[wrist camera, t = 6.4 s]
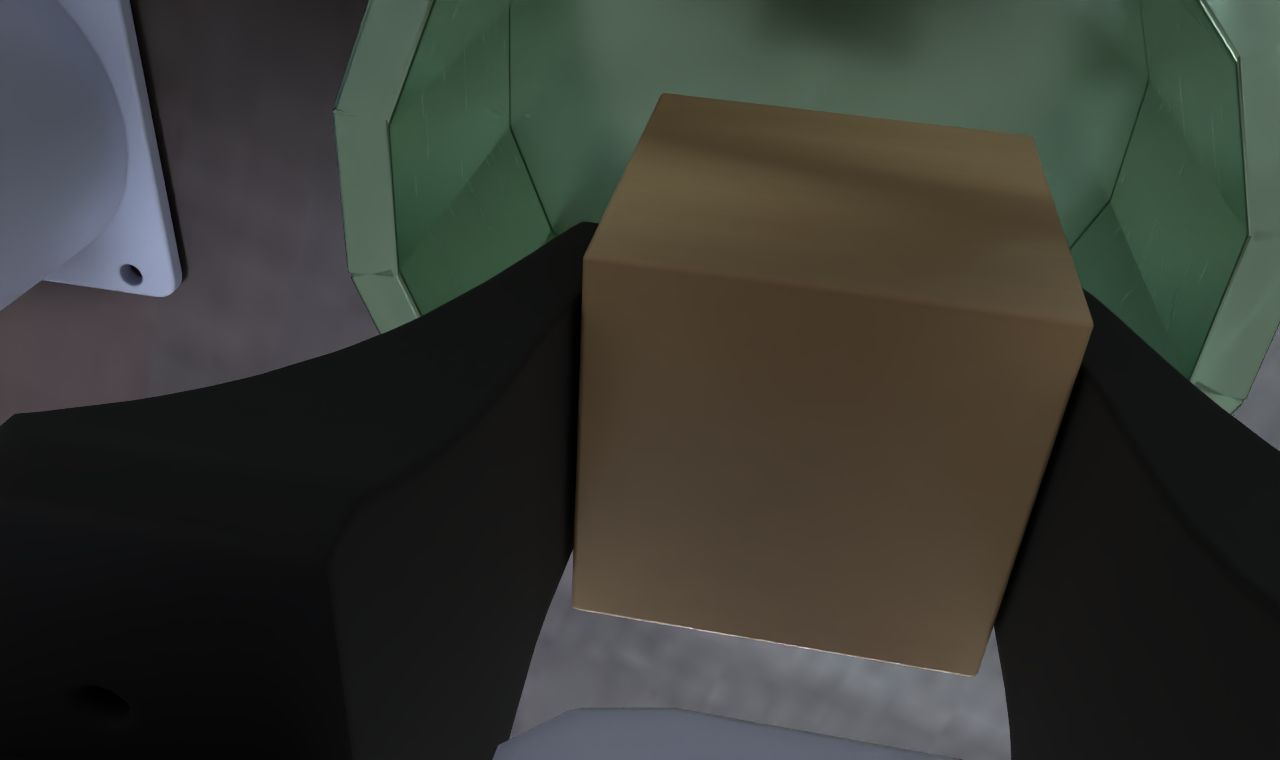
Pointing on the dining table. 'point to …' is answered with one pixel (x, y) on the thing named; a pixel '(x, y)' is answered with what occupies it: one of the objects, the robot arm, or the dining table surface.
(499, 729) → the robot arm
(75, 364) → the dining table surface
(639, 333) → the block
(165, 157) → the dining table surface
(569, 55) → the jar
